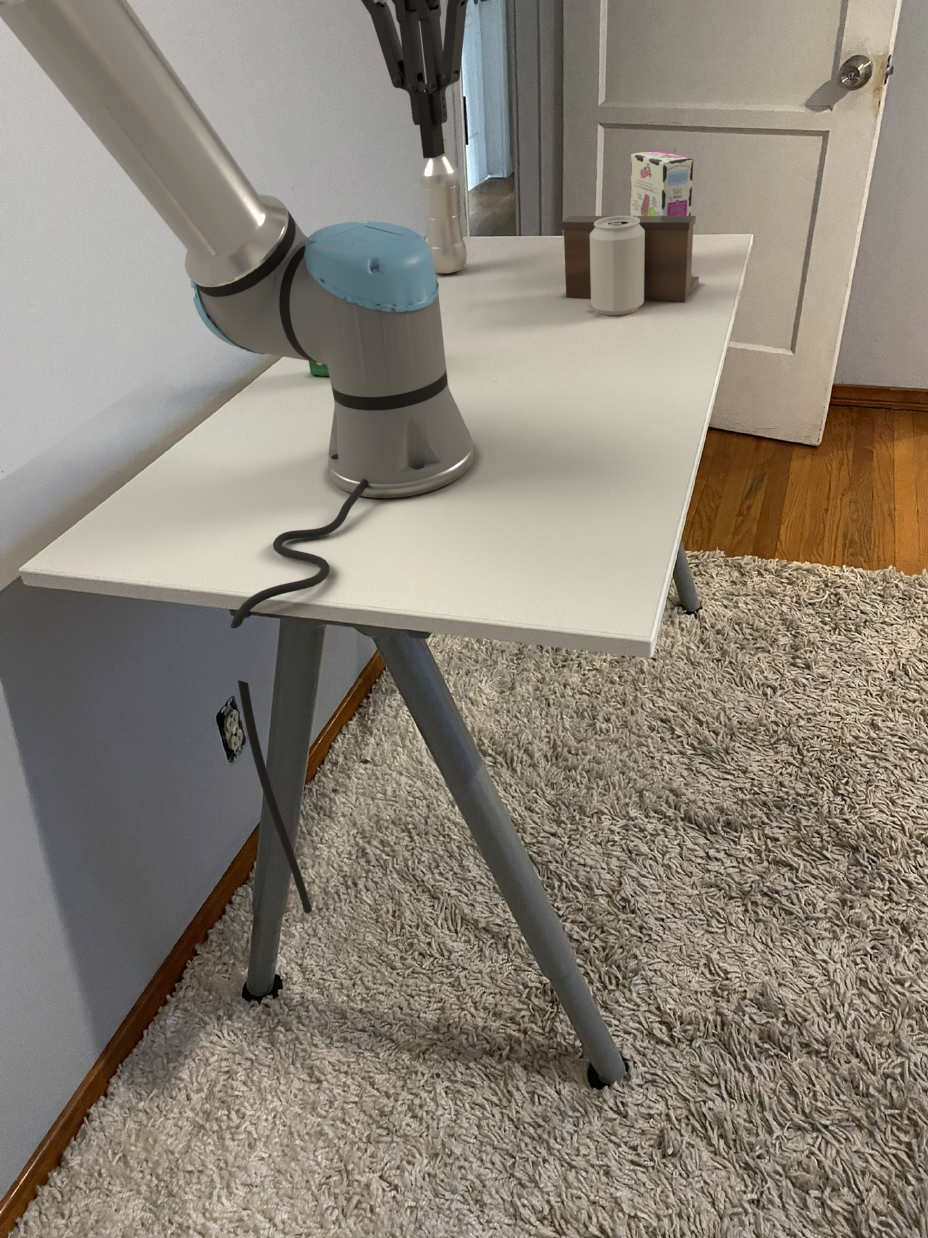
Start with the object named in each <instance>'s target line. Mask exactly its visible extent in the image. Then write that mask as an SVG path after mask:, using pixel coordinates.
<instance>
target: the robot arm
mask: <svg viewBox="0 0 928 1238" xmlns="http://www.w3.org/2000/svg"><path fill="white" fill-rule="evenodd" d="M360 1H361V3H362V4H363V5H364V8H365V9H366V11H367V12H368V13H369V15H370V17H371V21H372V25H373V27H374V30H375V33H376V37H377V40H378V44H379V47H380V50H381V53H382V56H383V60H384V62H385V66H386V68H387V72H388V74H389V75H388V76H389V77H390V82H391V84H392V86H393V87H394V88H395V89H401V90H404V91H406V93H407V94H408V95H409V102H410V109H411V110H410V111H411V119H412V122H413V124H414V126H419V133H420V143H421V150H422V157H423V159H427V158H436V157H438V156H440V155H442V154H444V153H445V150H444V140H443V139H444V130H443V124H445V123H448V116H449V115H448V108H447V95H446V91H447V88H448V87H449V86H451V85H453V84H455V83H457V82H459V81H460V78H461V69H462V61H463V60H462V59H463V51H464V50H463V49H464V39H465V28H466V18H467V9H468V8H467V7H468V3H469V0H447V4H446V12H445V24H444V25H445V26H444V34H443V35H444V36H443V38H442V27H441V16H442V7H441V0H390V1H391V3H392V4H393V5H394V10H395V12H394V13H395V18H396V22H397V23H398V27H399V34H400V37H399V34H398V31H397V27H396V24H395V19H394V17H393V14H392V12H391V8H390V6H389V4H388V3H387V2H388V0H360ZM0 18H1V19H2V21H3V22H4V24H6V26H7V27H8V29H9V30H10V31H11V32H12V33H13V35H14V36H15V37H16V38H17V40H18V41H19V42H20V43H21V45H22V46H23V47H24V48H25V50H27V52H28V53H29V55H30V56H31V57H32V59H34V61H35V62H36V63H37V65H38V66H39V67H40V68H41V69H42V70H43V72H44V73H45V74H46V76H47V77H48V78H49V80H50V81H51V82H52V83H53V84H54V85H55V87H56V88H57V90H58V91H59V92H60V94H62V96H63V97H64V98H65V100H66V101H67V102H68V103H69V104H70V105H71V107H72V108H73V109H74V111H75V112H76V113H77V114H78V115H79V117H80V118H81V119H82V120H83V122H84V123H85V124H86V125H87V127H88V128H89V129H90V130H91V132H92V133H93V134H94V135H95V137H96V138H97V139H98V140H99V142H100V143H101V144H102V146H103V147H104V148H105V150H107V152H108V153H109V155H111V157H112V159H114V160H115V162H116V163H117V165H118V166H120V168H121V169H122V170H123V172H124V173H125V174H126V175H127V177H128V178H129V179H130V180H131V181H132V183H133V184H134V185H135V186H136V188H137V189H138V190H139V192H140V193H141V194H142V195H143V196H144V198H145V199H146V200H147V201H148V203H150V205H151V206H152V208H153V209H154V210H155V212H156V213H157V214H158V215H159V216H160V218H161V219H162V221H164V223H165V224H166V226H167V227H168V228H169V229H170V230H171V231H172V232H173V234H174V235H175V236H176V238H177V239H178V240H179V242H180V243H181V244H182V245H183V246H184V248H185V249H186V253H185V258H184V269H185V272H186V274H187V276H188V278H189V279H190V287H191V288H192V289H194V295H193V297H192V301H193V304H194V307H195V310H196V311H197V314H198V316H199V317H200V319H201V321H202V323H203V324H204V325H205V327H206V328H207V329H208V330H209V331H210V332H211V333H212V334H213V335H214V336H215V337H216V338H217V339H219V340H221V341H222V342H224V343H226V344H228V345H230V346H233V347H236V348H238V349H240V350H242V351H246V352H249V353H253V354H259V355H271V356H276V357H277V356H278V357H283V358H289V359H294V360H302V361H306V362H309V361H312V362H318V363H323V364H327V366H328V371H329V376H328V377H329V381H330V386H331V391H332V395H333V403H334V407H333V414H332V415H333V416H332V424H331V430H330V437H329V446H328V453H327V454H328V455H327V456H328V457H327V458H328V459H327V462H328V463H327V464H328V467H329V468H328V469H329V472H330V477H331V480H332V482H333V483H334V484H335V485H336V486H337V487H338V488H340V489H341V490H343V491H345V492H347V493H349V494H350V495H349V496H348V497H347V499H346V500H345V501H344V503H343V504H342V506H341V508H340V510H339V512H338V514H337V515H336V517H335V518H334V520H332V521H331V522H330V523H329V524H327V525H325V526H321V527H317V528H310V529H296V530H295V529H294V530H289V531H285V532H282V533H280V534H279V535H277V537H275V539H274V541H273V543H272V548H273V550H274V551H275V553H277V554H278V555H280V556H282V557H285V558H290V559H293V560H298V561H302V562H307V563H310V564H312V565H315V566H316V567H319V571H318V572H317V573H316V574H314V575H312V576H310V577H307V578H304V579H300V580H296V581H290V582H286V583H282V584H278V585H275V586H271V587H268V588H265V589H263V590H261V591H259V592H256V593H255V594H253V595H252V596H250V597H249V598H248V599H246V600H245V601H244V602H243V603H242V604H241V605H240V607H239V608H238V609H237V611H236V612H235V614H234V616H233V618H232V621H231V624H230V628H231V629H236V628H239V627H241V626H242V624H243V622H244V620H245V619H246V617H247V615H248V614H249V612H250V611H251V610H252V609H254V607H256V606H257V605H259V604H261V603H263V602H264V601H266V600H269V599H271V598H274V597H277V596H281V595H285V594H288V593H294V592H298V591H303V590H306V589H310V588H312V587H315V586H317V585H320V584H321V583H322V582H323V581H324V580H326V579H327V578H328V575H329V574H330V565H329V563H328V561H327V560H326V559H325V558H323V557H321V556H318V555H316V554H313V553H309V552H304V551H300V550H295V549H292V548H288V547H285V546H283V544H284V543H285V542H287V541H290V540H297V539H298V540H299V539H311V538H312V539H313V538H319V537H323V536H326V535H329V534H331V533H333V532H335V531H336V530H338V529H339V528H340V527H341V526H342V525H343V523H344V522H345V520H346V519H347V516H348V514H349V513H350V511H351V509H352V508H353V505H354V504H356V502H357V500H358V499H359V498H360V497H366V498H374V499H375V498H376V499H393V498H395V499H396V498H403V497H405V498H406V497H410V496H411V497H413V496H416V495H421V494H425V493H428V492H433V491H436V490H438V489H440V488H443V487H445V486H447V485H449V484H451V483H453V482H455V481H456V480H458V479H459V478H461V477H462V476H463V475H464V474H465V473H467V472H468V471H469V469H470V468H471V466H472V465H473V462H474V458H475V453H474V444H473V438H472V436H471V433H470V430H469V429H468V427H467V425H466V423H465V421H464V418H463V416H462V414H461V411H460V409H459V407H458V405H457V403H456V401H455V399H454V396H453V394H452V392H451V390H450V386H449V381H448V379H449V378H448V371H447V362H446V352H445V341H444V333H443V325H442V324H443V322H442V314H441V313H442V312H441V304H440V303H441V302H440V294H439V292H440V283H439V280H438V276H437V273H436V272H435V269H434V264H433V258H432V253H431V250H430V248H429V243H428V241H426V239H425V238H424V237H423V236H422V235H421V234H420V233H418V232H416V231H415V230H413V229H411V228H408V227H406V226H402V225H399V224H395V223H389V222H382V221H367V222H358V221H348V222H341V223H335V224H330V225H328V226H324V227H322V228H319V229H317V230H315V231H314V232H313V233H311V234H310V235H309V237H308V236H307V235H305V233H304V232H303V231H302V229H301V227H300V226H299V224H298V223H297V221H296V220H295V219H294V217H293V216H292V214H291V213H290V210H288V208H287V206H286V205H285V204H284V203H283V202H282V201H281V200H280V198H278V197H275V196H273V195H269V194H261V193H260V194H259V193H258V192H257V190H256V189H255V187H254V186H253V184H252V183H251V181H250V180H249V178H248V177H247V175H246V173H244V171H243V170H242V168H241V167H240V165H239V164H238V162H237V161H236V159H235V158H234V156H233V154H231V151H229V149H228V148H227V146H226V145H225V143H224V141H223V140H222V139H221V137H220V135H218V133H217V131H216V129H215V128H214V127H213V126H212V124H211V122H210V120H208V118H207V116H206V115H205V114H204V112H203V111H202V109H201V108H200V106H199V104H198V103H197V102H196V101H195V99H194V97H193V96H192V94H191V93H190V92H189V90H188V88H187V87H186V85H185V84H184V82H183V81H182V80H181V78H180V77H179V75H178V74H177V72H176V71H175V68H173V67H172V65H171V63H170V62H169V60H168V58H166V56H165V55H164V53H163V51H162V50H161V49H160V47H159V46H158V44H157V42H156V41H155V39H154V38H153V37H152V35H151V34H150V32H149V31H148V29H147V28H146V27H145V25H144V24H143V22H142V21H141V19H140V17H139V16H138V14H137V13H136V12H135V10H134V9H133V7H132V6H131V4H130V3H129V2H128V0H0ZM237 684H238V689H239V696H240V703H241V708H242V714H243V719H244V722H245V723H244V724H245V729H246V733H247V737H248V741H249V745H250V749H251V754H252V758H253V761H254V764H255V769H256V772H257V775H258V779H259V782H260V786H261V788H262V791H263V795H264V798H265V801H266V804H267V808H268V809H269V812H270V815H271V818H272V821H273V824H274V827H275V830H276V832H277V835H278V838H279V840H280V844H281V846H282V849H283V852H284V854H285V857H286V860H287V863H288V866H289V869H290V871H291V874H292V877H293V881H294V883H295V886H296V889H297V893H298V895H299V899H300V902H301V906H302V909H303V912H304V913H305V914H311V912H312V911H313V909H312V906H311V902H310V899H309V895H308V892H307V888H306V885H305V882H304V879H303V876H302V872H301V869H300V866H299V864H298V861H297V858H296V855H295V852H294V849H293V847H292V844H291V841H290V838H289V835H288V832H287V829H286V827H285V824H284V821H283V818H282V815H281V811H280V809H279V806H278V803H277V800H276V797H275V794H274V790H273V788H272V785H271V780H270V777H269V774H268V771H267V767H266V764H265V760H264V756H263V752H262V748H261V744H260V739H259V735H258V731H257V726H256V721H255V720H256V719H255V716H254V715H255V714H254V711H253V704H252V700H251V692H250V686H249V682H247V681H243V680H237Z"/></svg>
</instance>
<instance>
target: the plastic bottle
mask: <svg viewBox="0 0 928 1238" xmlns="http://www.w3.org/2000/svg"><path fill="white" fill-rule="evenodd" d="M443 140H444V150H445V153H444V154H442V155H440V156H438V157H436V158H426V160H425V162H424V164H423V166H422V168H421V171H420V174H419V179H418V181H419V186H420V190H421V194H422V199H423V202H424V209H425V214H426V221H427V240H428V241H427V243H428V245H429V248H430V250H431V253H432V258H433V264H434V269H435V274H451V273H455V272H459V271H462V270H463V269H465V267H466V264H467V261H468V252H467V247H466V243H465V240H464V235H463V229H462V223H461V214H460V208H461V207H460V191H461V189H460V188H461V183H460V182H461V174H460V171H459V169H458V168H457V166H456V164H455V163H454V162H453V161H452V160H451V159H450V157H449V155H448V154H449V153H450V149H449V144H448V140H447V138H443Z"/></svg>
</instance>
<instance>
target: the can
mask: <svg viewBox="0 0 928 1238" xmlns="http://www.w3.org/2000/svg"><path fill="white" fill-rule="evenodd" d="M611 216H612V217H606V218H602V219H599V220H597V221H596V222H595V223H594V226H595V228H594V229H593V231H592V232H591V233H590V276H591V298H590V306H591V307H592V308H593V309H594V310H596V312H597V313H598V314H600V315H605V316H622V315H623V316H625V315H628V314H632V313H634V312H636V311H637V310H638V309H639V308H640V307H641V306H642V305H643V304H644V302H645V300H644V254H645V230H644V229H643V228H642V227H641V226H640V224H639V223H640V219H639V218H637V217H634V216H630V215H611Z"/></svg>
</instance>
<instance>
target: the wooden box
mask: <svg viewBox="0 0 928 1238" xmlns="http://www.w3.org/2000/svg"><path fill="white" fill-rule="evenodd" d="M612 216H613V215H569V216H568V217H566V218H565V219H564V220H562V221H561V230H563V249H564V250H563V251H564V273H565V277H564V278H565V297H566V298H567V299H568V298H569V299H591V276H590V233H591V232H592V231H593V229H594V228H595V226H594V223H595V222H596V221H597V220H599V219H602V218H606V217H612ZM634 217H637V218H639V219H640V223H639V224H640V226H641V227H642V228H643V229H644V230H645V254H644V301H649V302H650V301H651V302H653V301H654V302H680V303H681V302H682V303H685V302H686V301H687V300H688V299H689V298H690V296H691V295H692V294H693V292H695V290H696V289H697V287H698V286H699V284H700V277H699V276H692V266H693V265H692V264H693V245H694V242H693V241H694V240H693V239H694V225H695V224H696V215H690V216H634Z"/></svg>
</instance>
